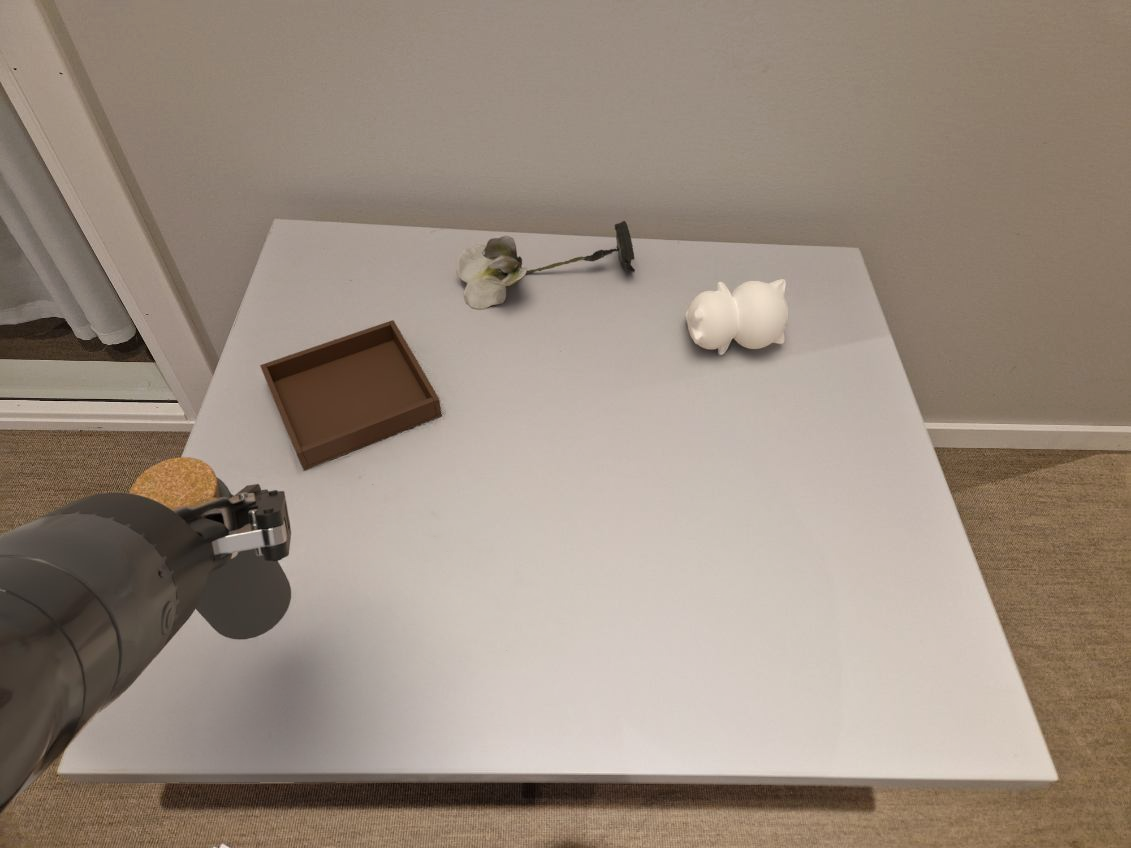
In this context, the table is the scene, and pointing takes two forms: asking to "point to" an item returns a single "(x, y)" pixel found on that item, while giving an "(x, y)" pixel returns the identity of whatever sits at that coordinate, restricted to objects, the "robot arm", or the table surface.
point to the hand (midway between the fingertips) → (203, 508)
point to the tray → (350, 393)
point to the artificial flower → (516, 266)
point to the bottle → (247, 582)
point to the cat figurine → (739, 316)
